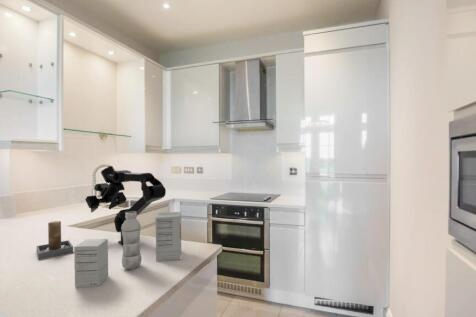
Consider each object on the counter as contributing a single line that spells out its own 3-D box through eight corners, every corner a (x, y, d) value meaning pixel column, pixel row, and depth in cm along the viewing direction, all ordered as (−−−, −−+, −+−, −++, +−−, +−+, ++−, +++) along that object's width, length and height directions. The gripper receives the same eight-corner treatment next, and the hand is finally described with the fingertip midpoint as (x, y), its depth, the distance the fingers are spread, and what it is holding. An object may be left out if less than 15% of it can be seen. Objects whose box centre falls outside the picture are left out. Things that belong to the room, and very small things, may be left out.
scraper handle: (64, 247, 113) (64, 220, 113) (61, 251, 108) (61, 223, 108) (48, 249, 111) (48, 221, 111) (44, 254, 105) (43, 224, 105)
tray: (73, 252, 109) (73, 246, 109) (38, 259, 101) (38, 253, 101) (68, 245, 117) (68, 240, 117) (36, 251, 110) (36, 246, 110)
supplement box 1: (86, 276, 85) (85, 239, 85) (109, 275, 86) (108, 238, 86) (73, 287, 78) (73, 246, 78) (99, 286, 79) (98, 245, 79)
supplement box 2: (180, 260, 99) (179, 216, 99) (155, 261, 97) (155, 217, 97) (181, 251, 108) (181, 211, 108) (159, 252, 107) (158, 212, 107)
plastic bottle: (134, 272, 88) (134, 214, 88) (117, 270, 90) (116, 213, 90) (145, 264, 95) (144, 210, 95) (128, 263, 96) (128, 210, 96)
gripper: (122, 176, 137) (111, 196, 143) (87, 179, 121) (75, 200, 127) (132, 192, 133) (119, 211, 139) (96, 197, 117) (84, 218, 123)
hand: (100, 210), depth 132 cm, fingers open, 9 cm apart
